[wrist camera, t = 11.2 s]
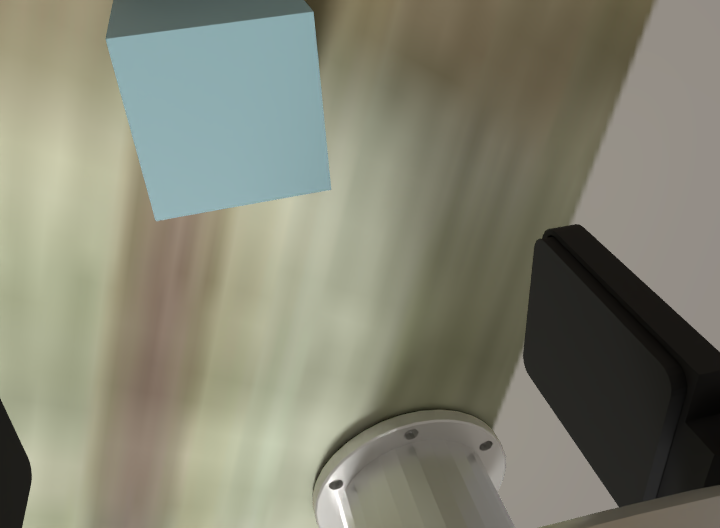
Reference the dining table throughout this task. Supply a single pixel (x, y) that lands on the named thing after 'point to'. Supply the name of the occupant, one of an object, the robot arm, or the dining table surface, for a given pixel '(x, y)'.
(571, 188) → the dining table surface
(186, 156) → the teal block
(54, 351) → the dining table surface
